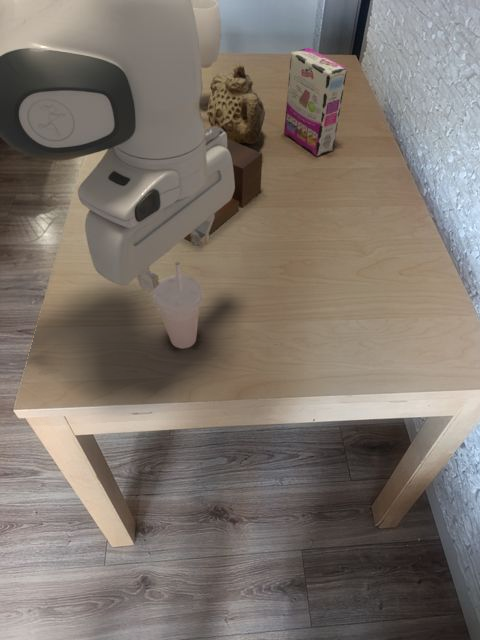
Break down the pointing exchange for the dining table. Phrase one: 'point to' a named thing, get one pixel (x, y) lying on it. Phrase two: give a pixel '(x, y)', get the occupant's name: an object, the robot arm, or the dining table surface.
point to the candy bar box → (314, 100)
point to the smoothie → (179, 307)
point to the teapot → (236, 106)
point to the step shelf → (240, 182)
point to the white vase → (207, 30)
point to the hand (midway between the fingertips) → (176, 264)
